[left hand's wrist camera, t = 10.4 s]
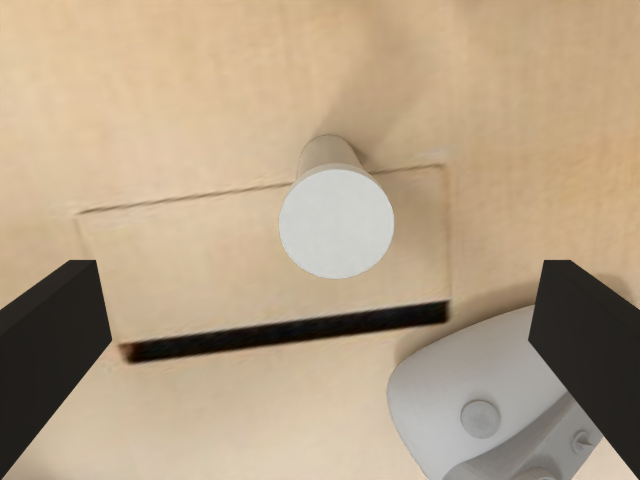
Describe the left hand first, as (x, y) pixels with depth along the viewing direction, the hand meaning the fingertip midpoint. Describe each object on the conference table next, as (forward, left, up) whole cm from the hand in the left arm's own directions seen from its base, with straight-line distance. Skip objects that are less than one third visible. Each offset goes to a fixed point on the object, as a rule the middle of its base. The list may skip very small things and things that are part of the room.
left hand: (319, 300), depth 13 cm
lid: (0, -1, -8) cm, 8 cm away
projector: (-9, -26, -24) cm, 36 cm away
